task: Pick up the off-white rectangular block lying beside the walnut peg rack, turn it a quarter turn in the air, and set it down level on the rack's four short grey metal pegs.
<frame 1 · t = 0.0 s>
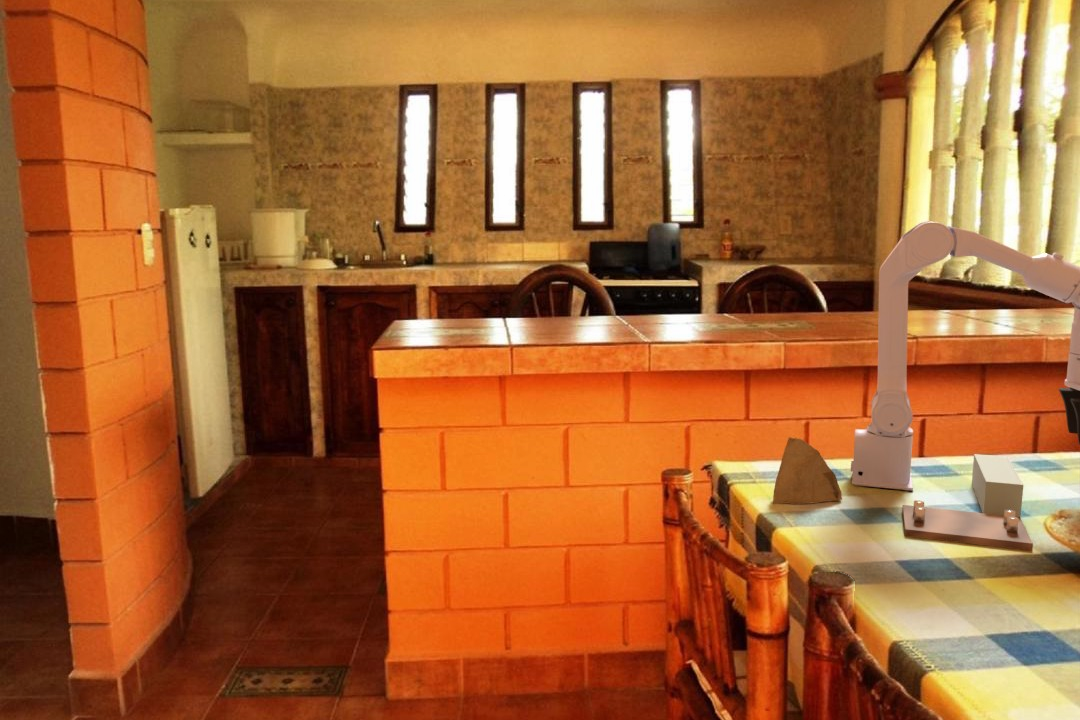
peg rack: (963, 529, 126), on the table
rock: (807, 501, 139), on the table
off-white rectangular block: (994, 501, 139), on the table
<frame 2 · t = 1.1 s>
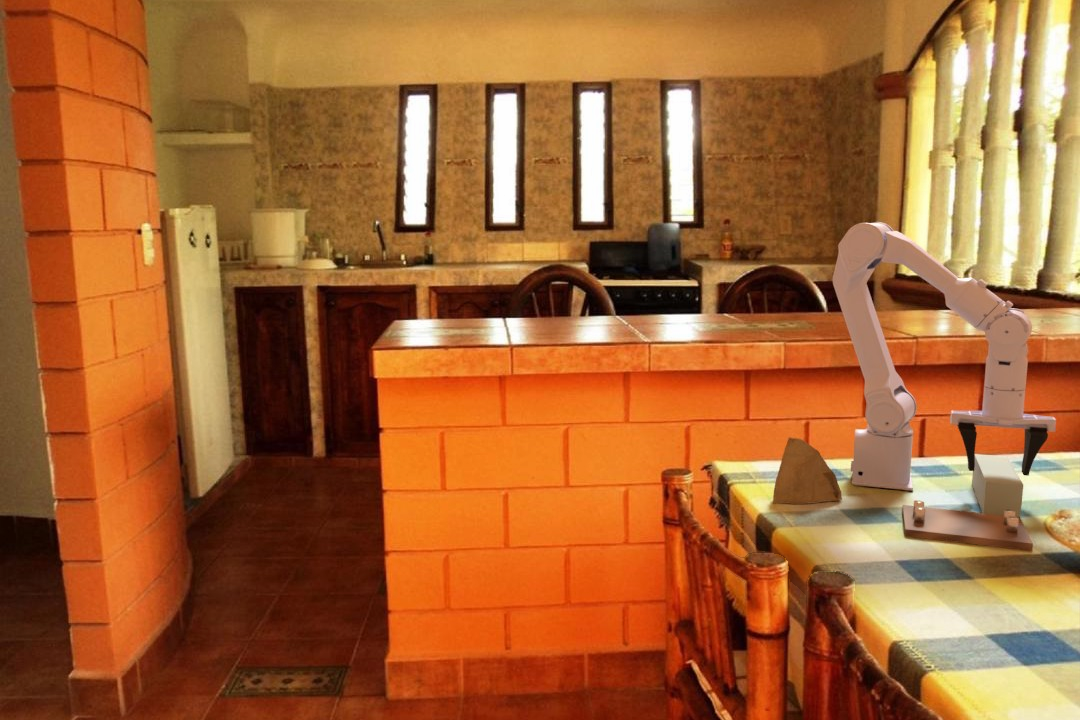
hand: (997, 471, 138), 5 cm above the table, fingers open, 7 cm apart
nothing on the table moved.
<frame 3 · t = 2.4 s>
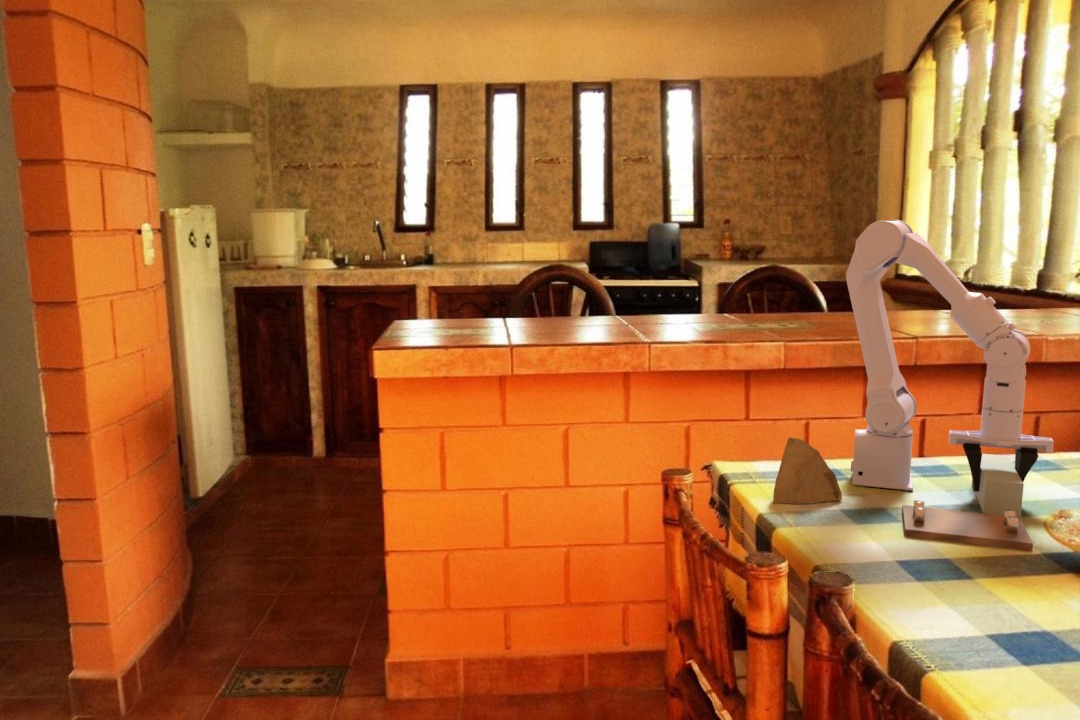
hand: (995, 491, 139), 1 cm above the table, fingers closed on off-white rectangular block, 5 cm apart
off-white rectangular block: (994, 500, 139), on the table, touching gripper
everything else where it was.
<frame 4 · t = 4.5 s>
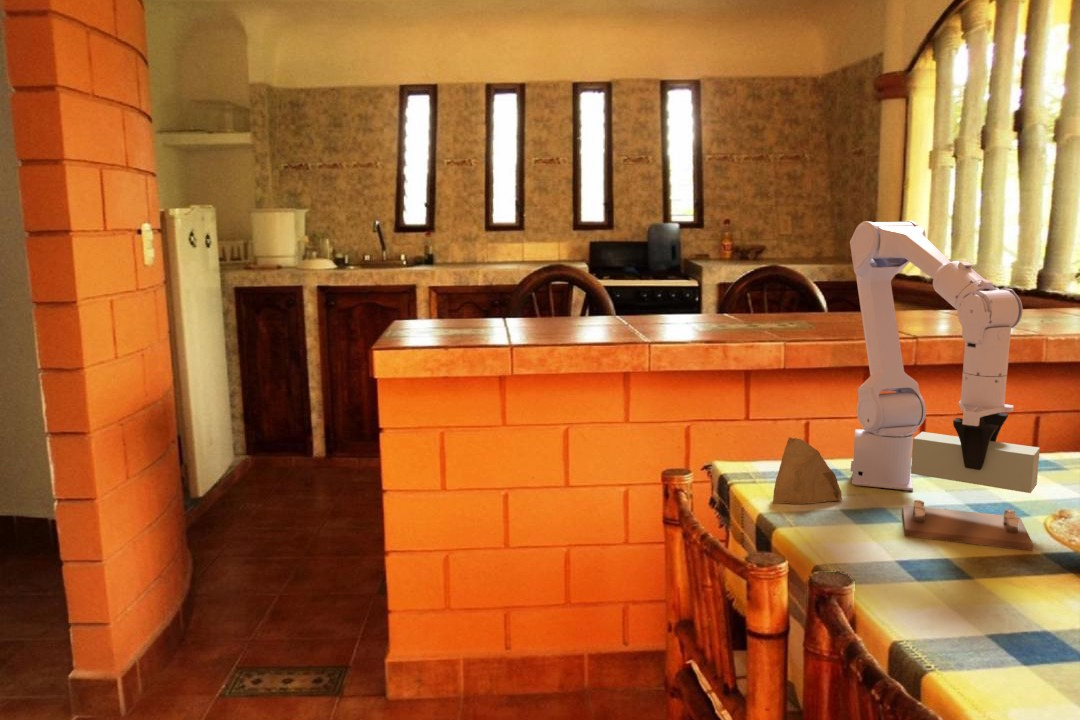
hand: (977, 464, 128), 9 cm above the table, fingers closed on off-white rectangular block, 5 cm apart
off-white rectangular block: (972, 478, 129), point 6 cm above the table, touching gripper
everything else where it was.
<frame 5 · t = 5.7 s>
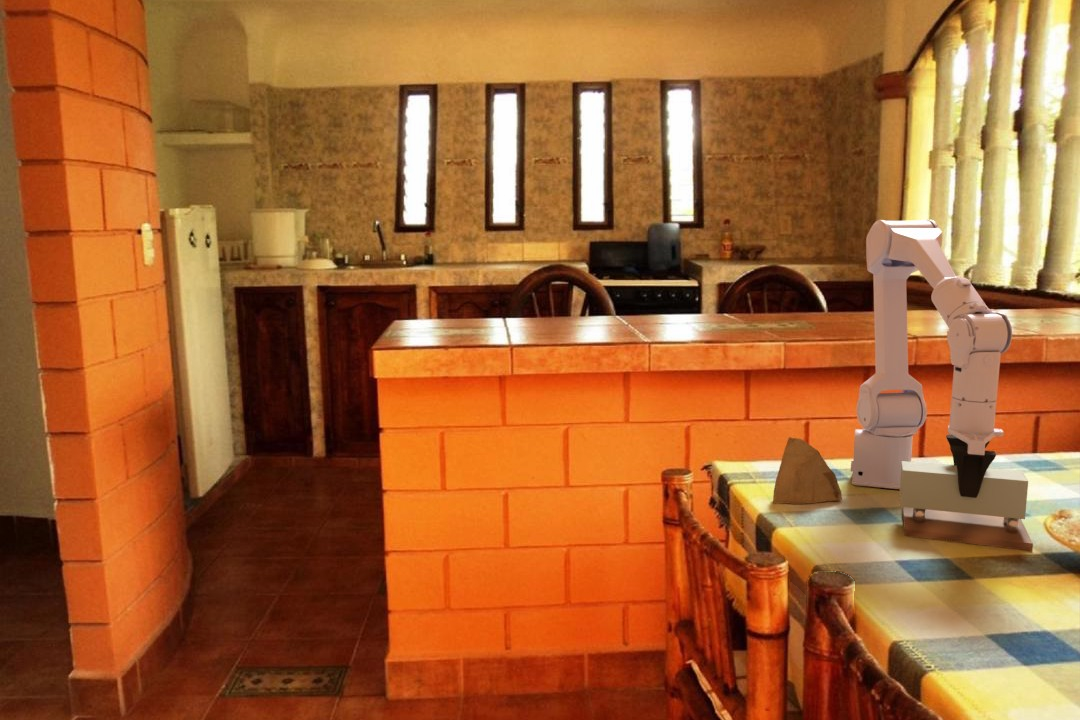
hand: (966, 490, 125), 6 cm above the table, fingers closed on off-white rectangular block, 5 cm apart
off-white rectangular block: (959, 507, 126), point 3 cm above the table, touching gripper
everything else where it was.
when the fingers open (6 cm above the table, at t = 6.8 s): off-white rectangular block stays where it is, resting on peg rack.
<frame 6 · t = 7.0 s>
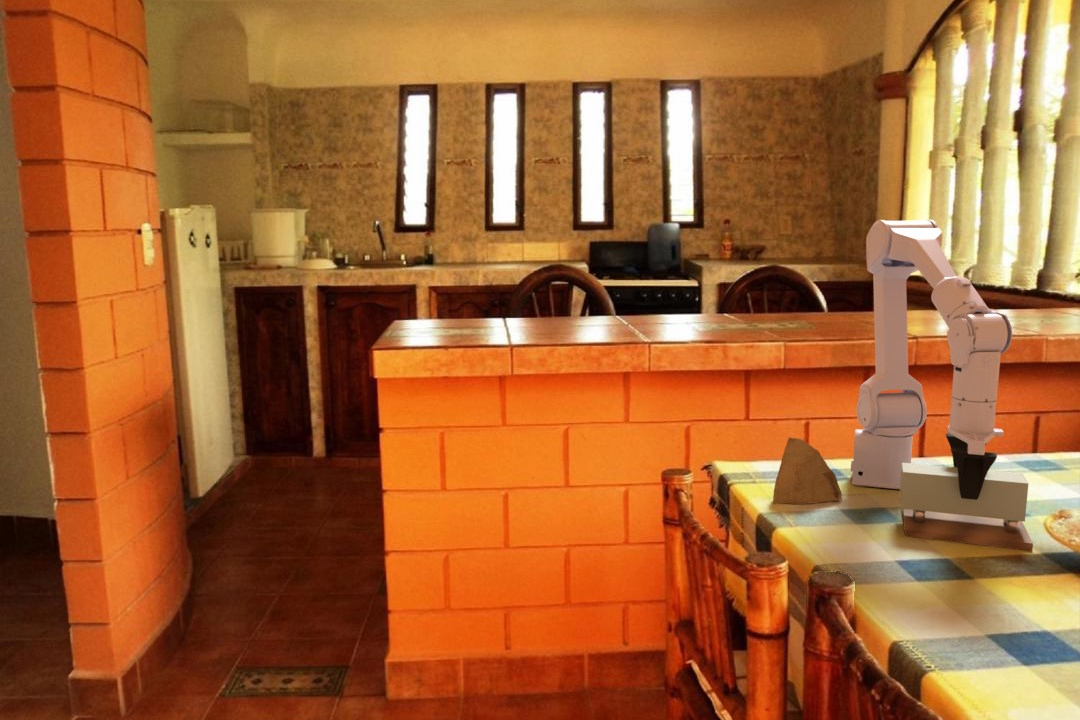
hand: (966, 490, 125), 6 cm above the table, fingers open, 7 cm apart
off-white rectangular block: (959, 509, 126), point 3 cm above the table, touching peg rack
everything else where it was.
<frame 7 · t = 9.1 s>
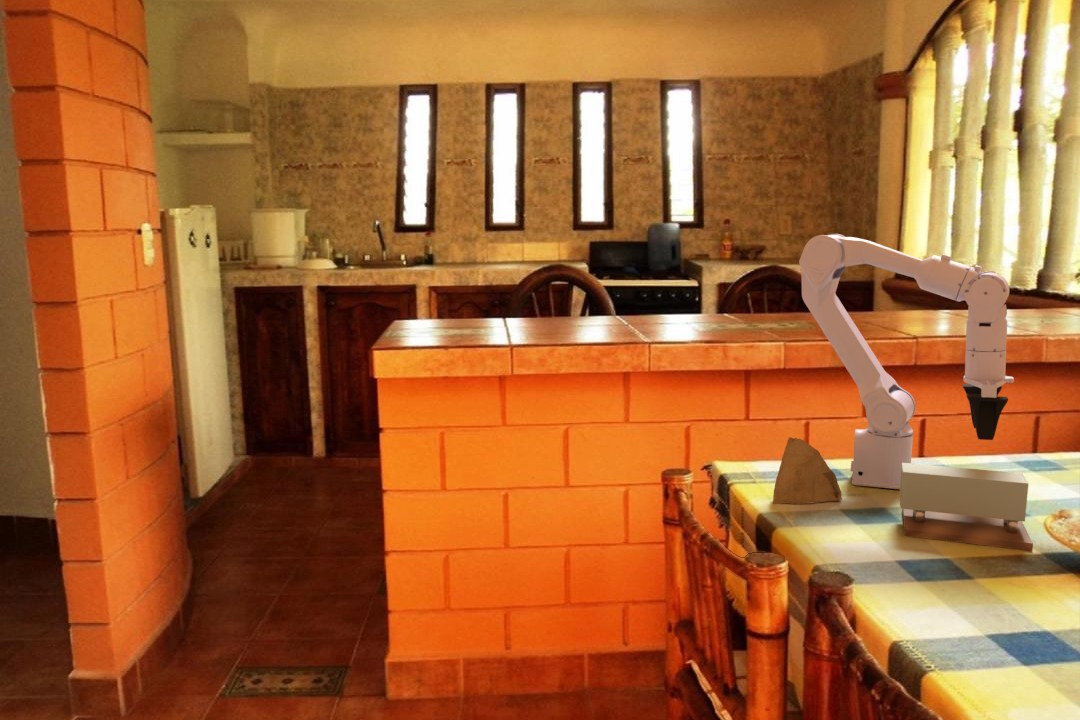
hand: (983, 433, 139), 10 cm above the table, fingers open, 7 cm apart
nothing on the table moved.
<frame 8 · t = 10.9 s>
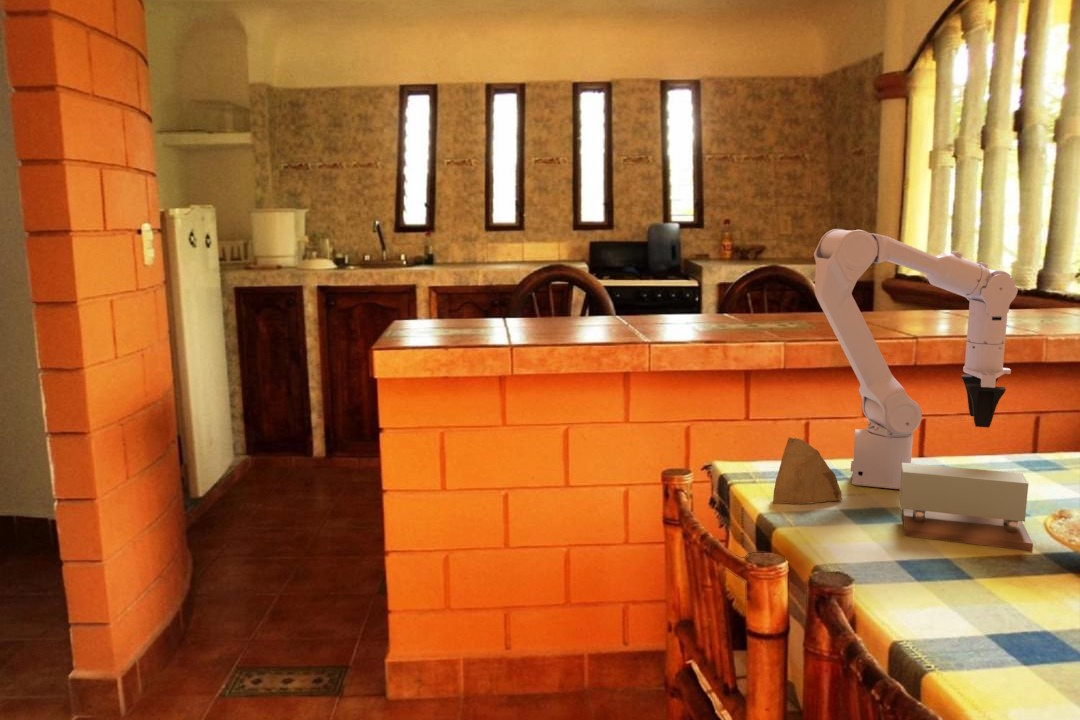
hand: (979, 421, 147), 10 cm above the table, fingers open, 7 cm apart
nothing on the table moved.
at the end: off-white rectangular block 0.7 cm off-centre on the peg rack, point 3.0 cm above the peg rack's base; off-white rectangular block tilted 0°; the gripper is holding nothing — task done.
